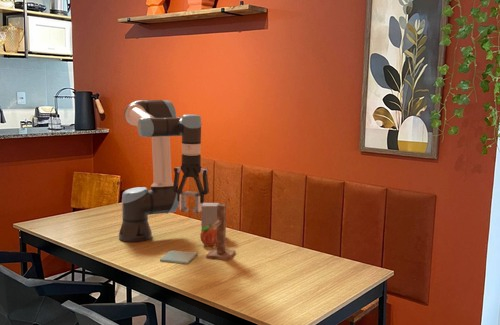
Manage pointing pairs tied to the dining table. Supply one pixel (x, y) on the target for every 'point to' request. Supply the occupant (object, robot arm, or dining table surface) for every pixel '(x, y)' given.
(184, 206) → the c link
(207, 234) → the fruit
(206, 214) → the skincare box
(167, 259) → the coaster
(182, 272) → the dining table surface
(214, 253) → the stand
